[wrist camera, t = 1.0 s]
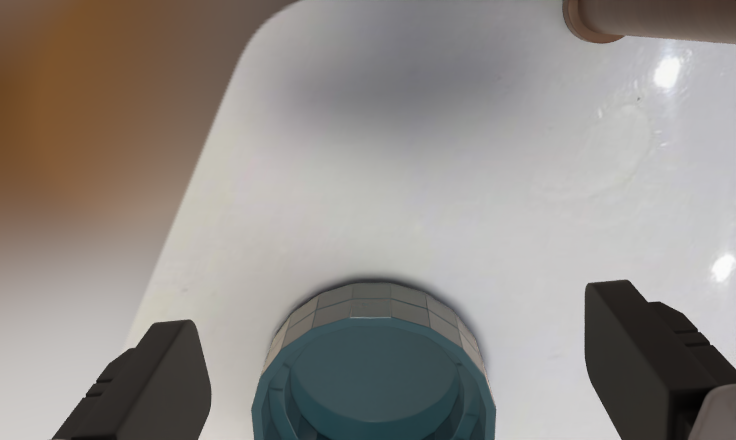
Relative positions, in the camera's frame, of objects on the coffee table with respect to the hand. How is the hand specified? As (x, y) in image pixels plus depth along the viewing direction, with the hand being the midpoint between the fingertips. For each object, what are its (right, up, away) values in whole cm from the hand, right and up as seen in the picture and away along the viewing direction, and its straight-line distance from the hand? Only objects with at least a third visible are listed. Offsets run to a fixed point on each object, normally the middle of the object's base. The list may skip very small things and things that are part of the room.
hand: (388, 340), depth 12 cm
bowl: (0, -8, +27) cm, 29 cm away
